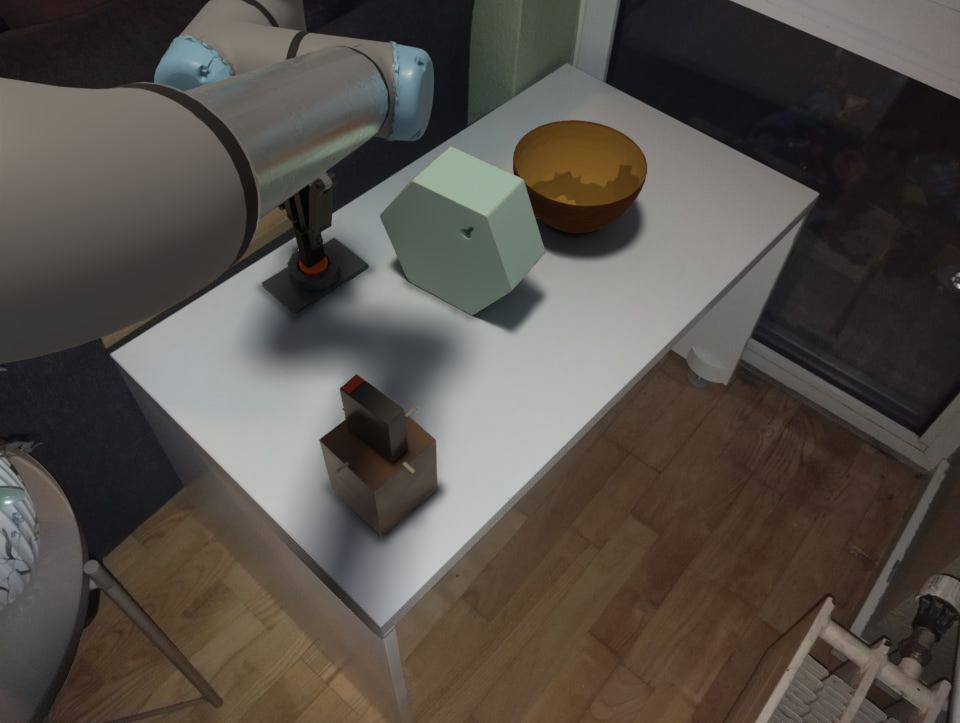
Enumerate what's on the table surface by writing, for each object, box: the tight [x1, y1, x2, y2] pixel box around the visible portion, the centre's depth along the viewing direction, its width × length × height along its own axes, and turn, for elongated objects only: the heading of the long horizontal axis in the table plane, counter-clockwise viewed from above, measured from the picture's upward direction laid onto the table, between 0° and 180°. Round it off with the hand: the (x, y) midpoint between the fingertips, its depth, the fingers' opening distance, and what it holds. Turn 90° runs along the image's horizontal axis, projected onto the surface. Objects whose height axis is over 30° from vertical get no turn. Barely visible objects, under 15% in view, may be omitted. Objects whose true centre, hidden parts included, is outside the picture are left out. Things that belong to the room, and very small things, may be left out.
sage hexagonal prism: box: [379, 146, 546, 316], centre depth 93 cm, size 17×8×21 cm
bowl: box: [512, 119, 648, 234], centre depth 105 cm, size 18×18×10 cm
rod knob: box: [339, 373, 408, 464], centre depth 71 cm, size 6×2×7 cm, turn 51°
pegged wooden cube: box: [318, 406, 438, 538], centre depth 78 cm, size 10×10×10 cm
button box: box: [261, 237, 369, 316], centre depth 99 cm, size 12×7×2 cm, turn 136°
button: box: [299, 256, 329, 276], centre depth 99 cm, size 4×4×2 cm
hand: (313, 259), depth 98 cm, fingers closed
